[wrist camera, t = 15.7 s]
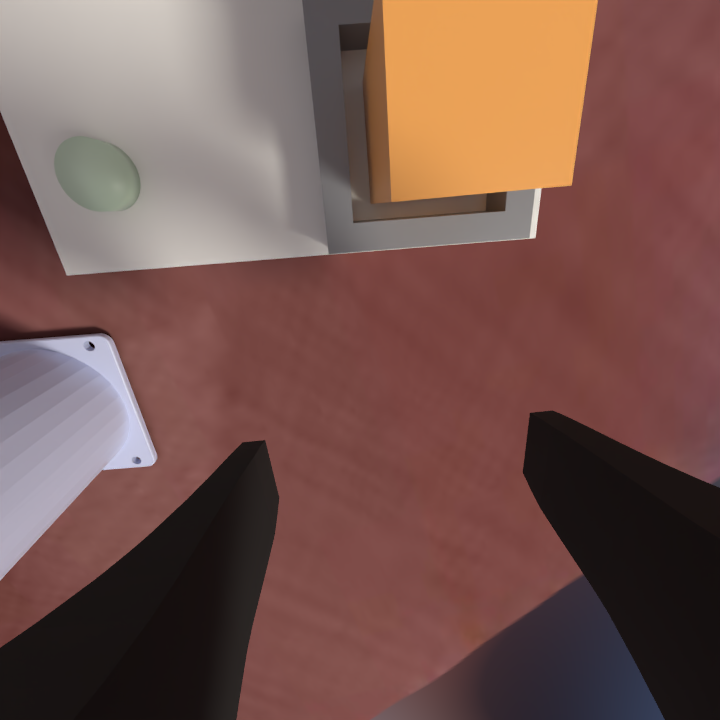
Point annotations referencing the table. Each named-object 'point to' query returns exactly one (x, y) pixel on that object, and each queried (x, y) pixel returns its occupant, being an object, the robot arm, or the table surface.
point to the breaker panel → (211, 135)
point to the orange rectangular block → (474, 95)
